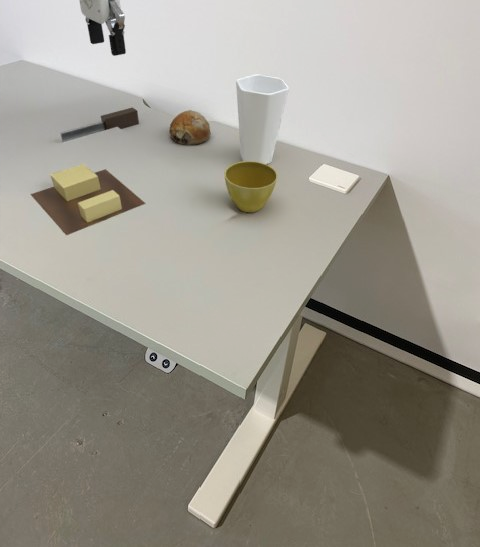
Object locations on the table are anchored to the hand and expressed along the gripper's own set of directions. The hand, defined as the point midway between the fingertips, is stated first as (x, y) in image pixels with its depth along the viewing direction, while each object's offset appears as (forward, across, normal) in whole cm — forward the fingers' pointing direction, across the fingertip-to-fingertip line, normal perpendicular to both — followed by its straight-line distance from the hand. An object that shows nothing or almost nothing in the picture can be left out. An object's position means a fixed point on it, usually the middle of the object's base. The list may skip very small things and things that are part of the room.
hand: (108, 48), depth 94 cm
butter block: (+17, +22, -22) cm, 36 cm away
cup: (+18, +33, +17) cm, 41 cm away
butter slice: (+17, +33, -22) cm, 43 cm away
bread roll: (+18, +15, +11) cm, 26 cm away
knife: (+18, 0, -5) cm, 19 cm away
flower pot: (+18, +46, +3) cm, 50 cm away
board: (+18, +27, -22) cm, 39 cm away
